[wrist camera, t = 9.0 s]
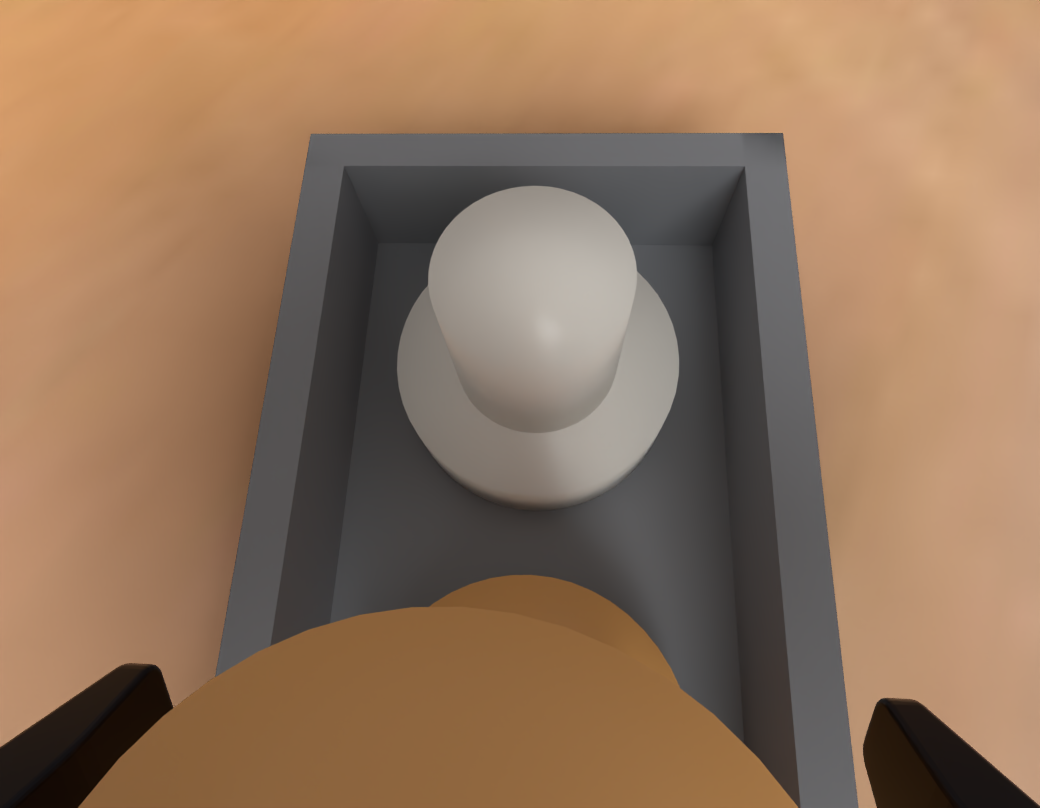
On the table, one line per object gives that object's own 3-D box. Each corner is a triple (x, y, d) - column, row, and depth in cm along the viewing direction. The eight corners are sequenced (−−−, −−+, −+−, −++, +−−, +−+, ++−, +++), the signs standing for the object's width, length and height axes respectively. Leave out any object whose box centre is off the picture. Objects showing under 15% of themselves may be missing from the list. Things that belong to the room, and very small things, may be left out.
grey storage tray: (798, 1038, 14) (1012, 1391, 8) (253, 998, 15) (12, 1288, 8) (735, 236, 21) (821, 49, 14) (359, 233, 21) (272, 54, 15)
